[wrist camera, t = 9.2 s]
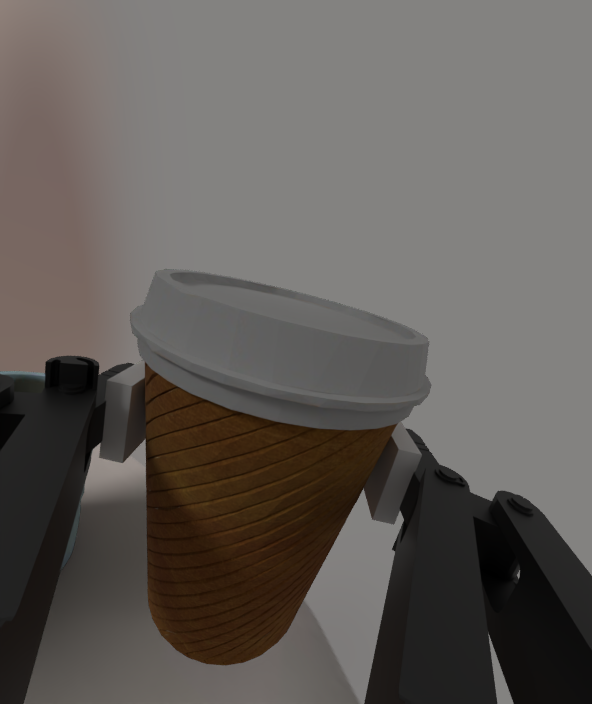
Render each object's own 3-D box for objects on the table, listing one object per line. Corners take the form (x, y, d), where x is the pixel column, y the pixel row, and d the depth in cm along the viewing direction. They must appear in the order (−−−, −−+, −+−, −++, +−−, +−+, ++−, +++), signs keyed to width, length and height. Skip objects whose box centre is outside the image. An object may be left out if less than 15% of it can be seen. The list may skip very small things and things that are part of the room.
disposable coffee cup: (68, 544, 13) (90, 249, 10) (251, 475, 20) (296, 288, 17) (163, 865, 7) (294, 358, 4) (379, 605, 14) (486, 349, 11)
